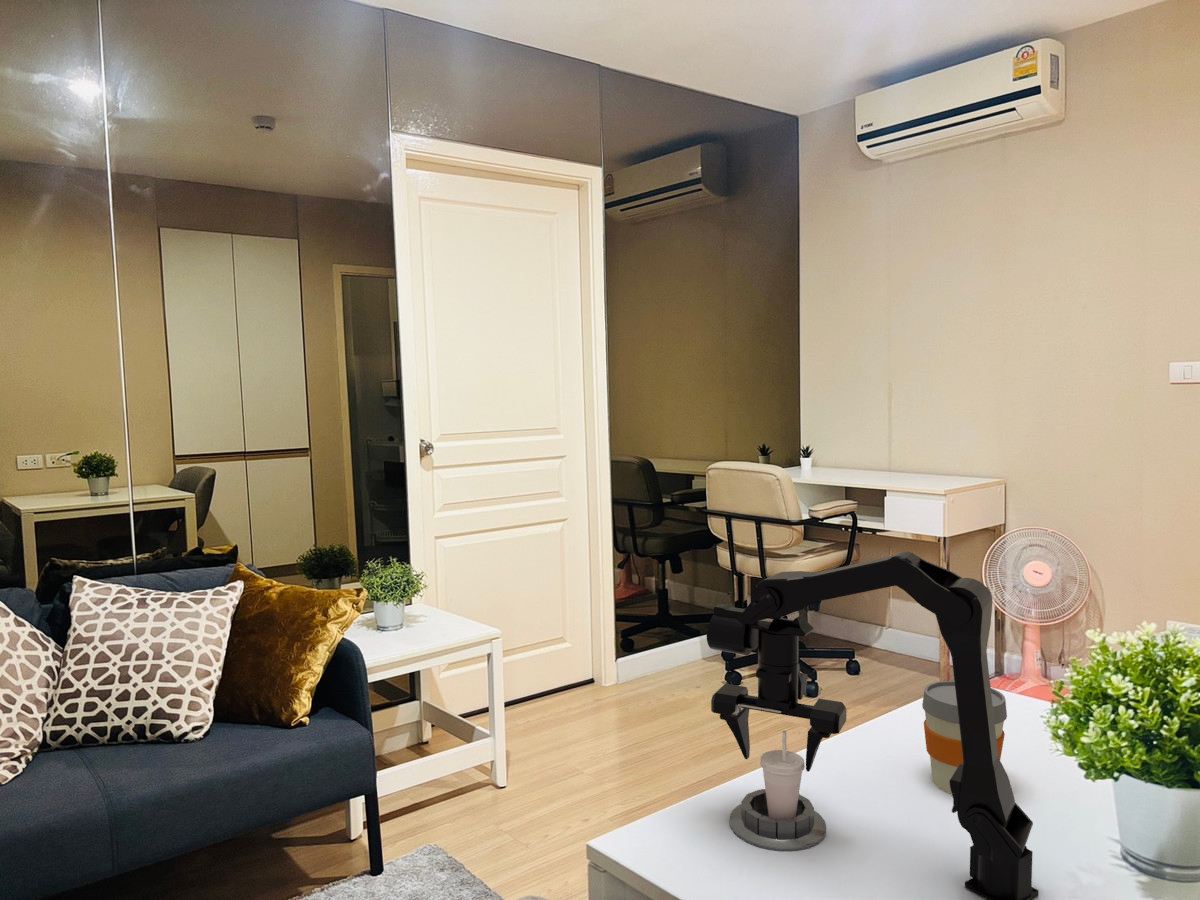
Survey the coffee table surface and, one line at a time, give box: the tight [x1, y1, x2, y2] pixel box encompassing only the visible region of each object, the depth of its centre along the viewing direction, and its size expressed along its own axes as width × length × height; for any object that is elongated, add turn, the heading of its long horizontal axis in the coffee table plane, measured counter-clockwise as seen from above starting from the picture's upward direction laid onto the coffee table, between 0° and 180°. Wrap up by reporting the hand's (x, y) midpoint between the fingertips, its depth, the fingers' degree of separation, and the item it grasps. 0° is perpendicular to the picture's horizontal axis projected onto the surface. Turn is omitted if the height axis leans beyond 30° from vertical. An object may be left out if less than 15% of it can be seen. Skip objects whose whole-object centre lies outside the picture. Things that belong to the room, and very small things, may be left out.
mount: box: [729, 788, 827, 852], centre depth 129 cm, size 14×14×3 cm
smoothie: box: [760, 730, 806, 819], centre depth 128 cm, size 6×6×14 cm
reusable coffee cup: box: [922, 680, 1008, 795], centre depth 141 cm, size 12×13×15 cm
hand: (777, 764), depth 128 cm, fingers open, 9 cm apart
